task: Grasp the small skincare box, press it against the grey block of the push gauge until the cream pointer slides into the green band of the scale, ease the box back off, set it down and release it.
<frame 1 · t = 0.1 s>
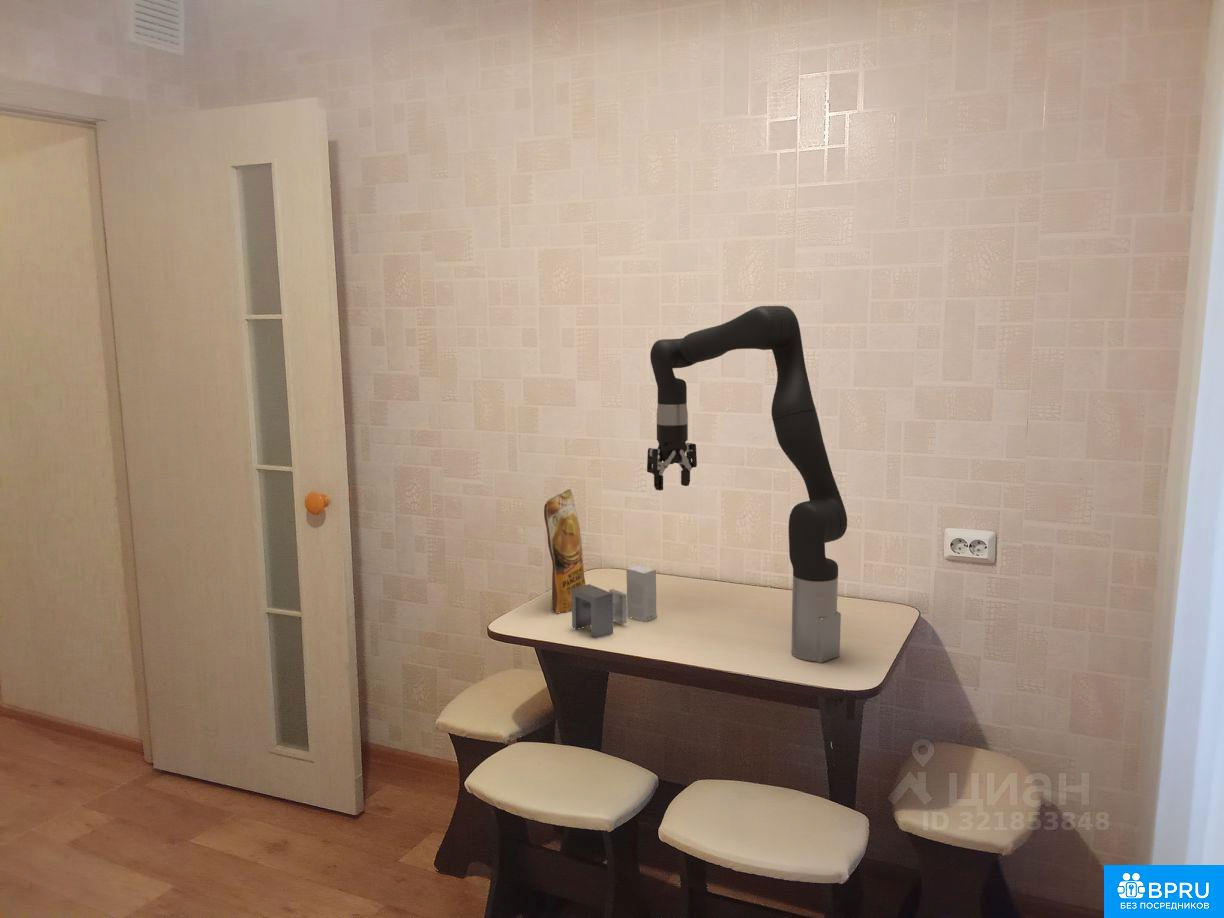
hand: (672, 487, 225), 29 cm above the table, tool pointing down, fingers open, 8 cm apart
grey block: (604, 605, 215), point 4 cm above the table, slide at 0.0 cm
skincare box: (641, 618, 219), on the table
pancake mix bag: (567, 604, 229), on the table
gauge housing: (592, 630, 210), on the table
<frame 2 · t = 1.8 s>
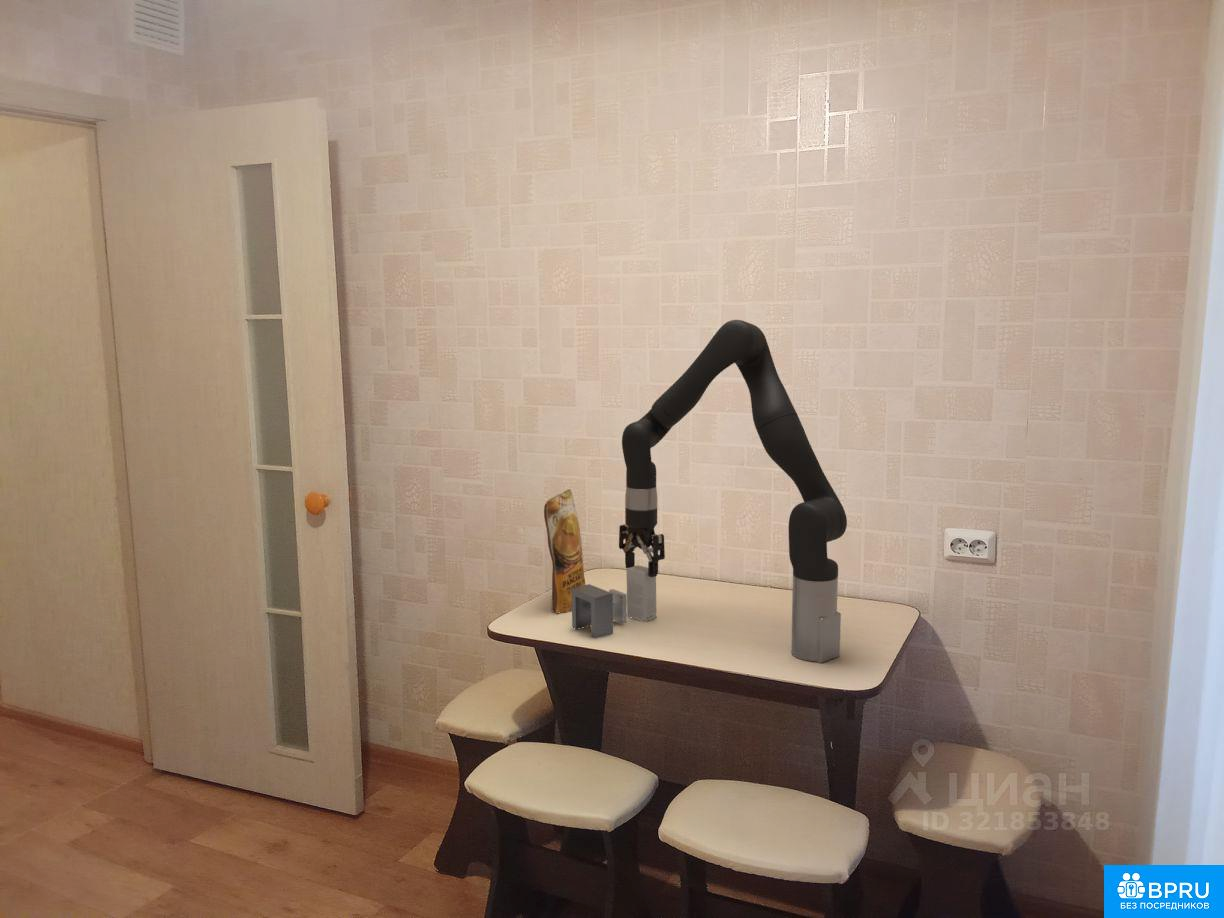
hand: (641, 572, 218), 11 cm above the table, tool pointing down, fingers open, 8 cm apart
nothing on the table moved.
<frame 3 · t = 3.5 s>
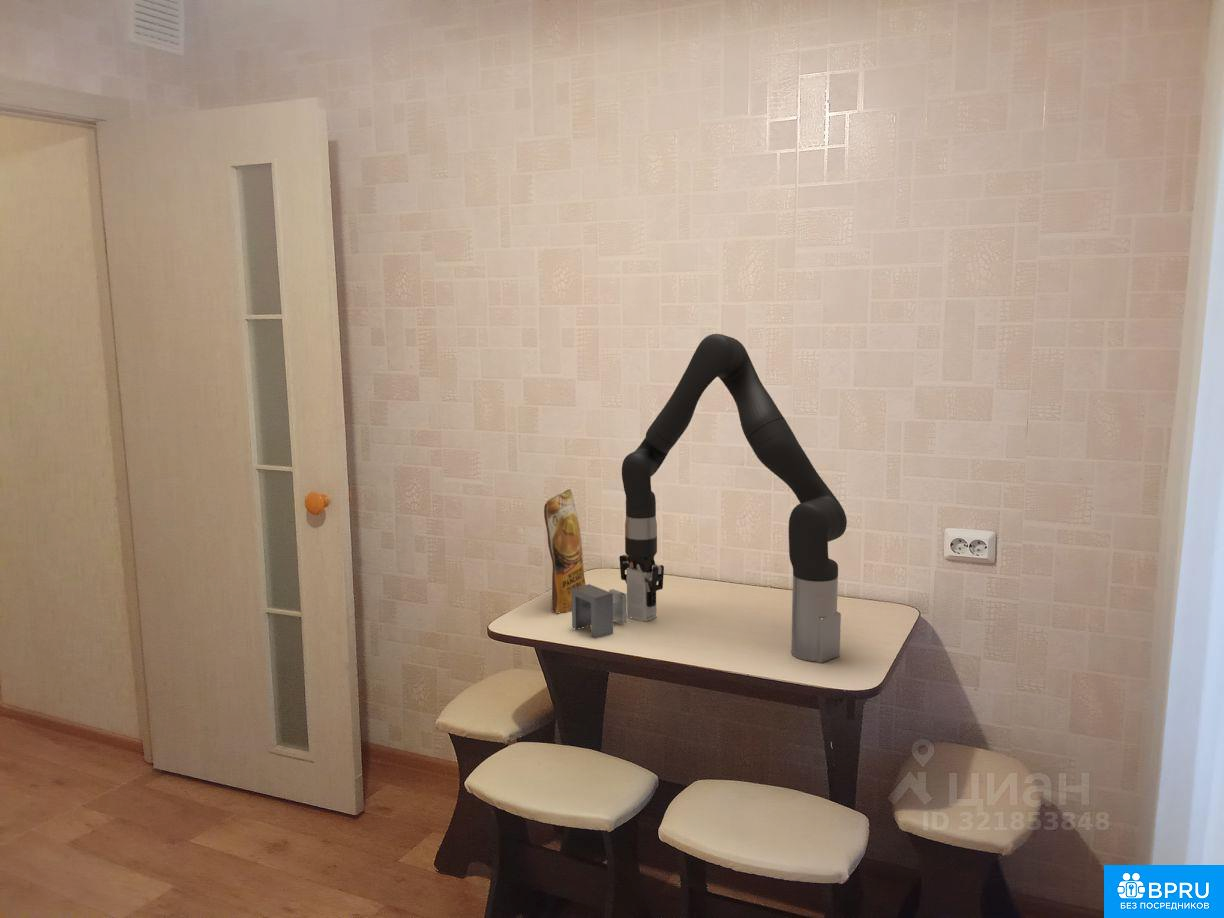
hand: (641, 602, 218), 4 cm above the table, tool pointing down, fingers closed on skincare box, 6 cm apart
skincare box: (641, 618, 219), on the table, touching gripper
everything else where it was.
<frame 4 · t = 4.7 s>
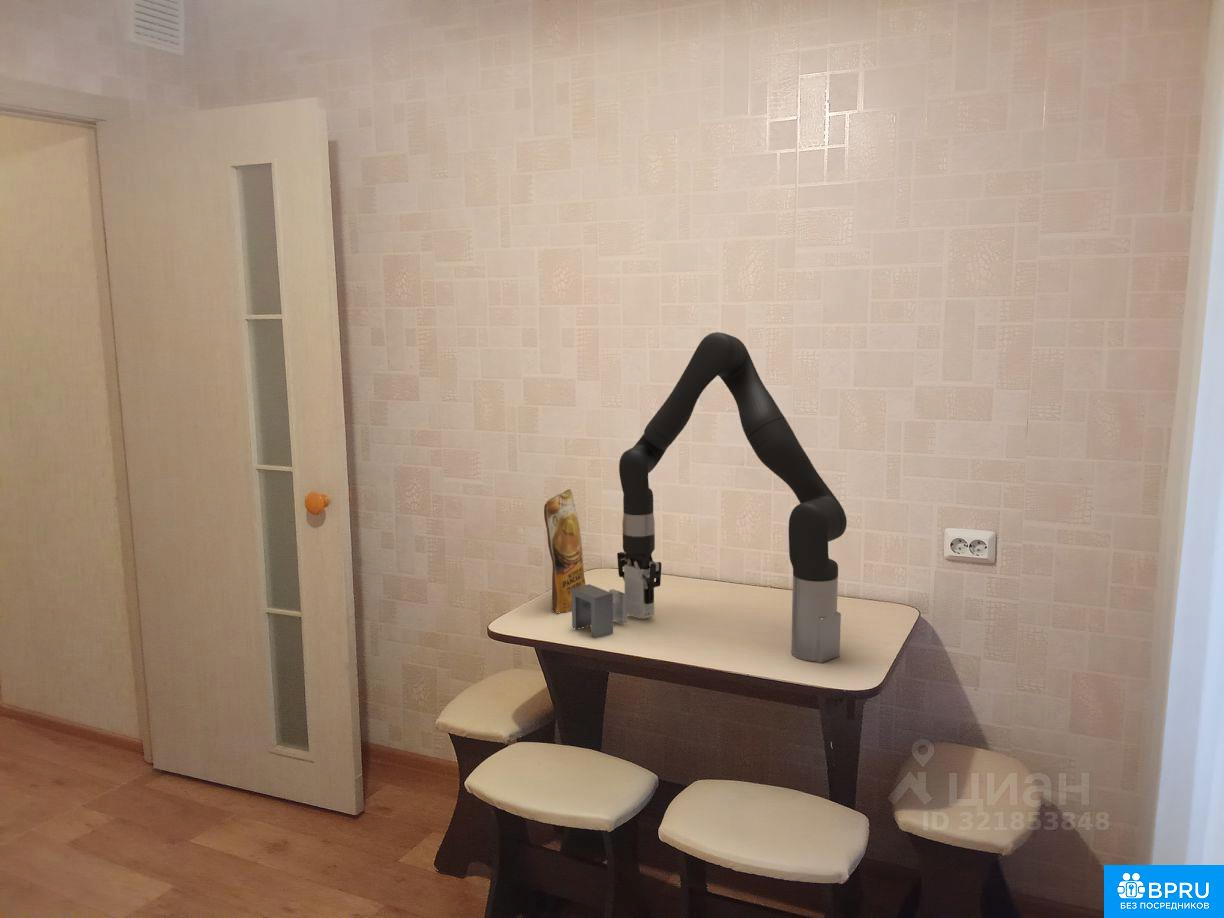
hand: (639, 599, 218), 5 cm above the table, tool pointing down, fingers closed on skincare box, 6 cm apart
skincare box: (639, 615, 219), point 1 cm above the table, touching gripper
everything else where it was.
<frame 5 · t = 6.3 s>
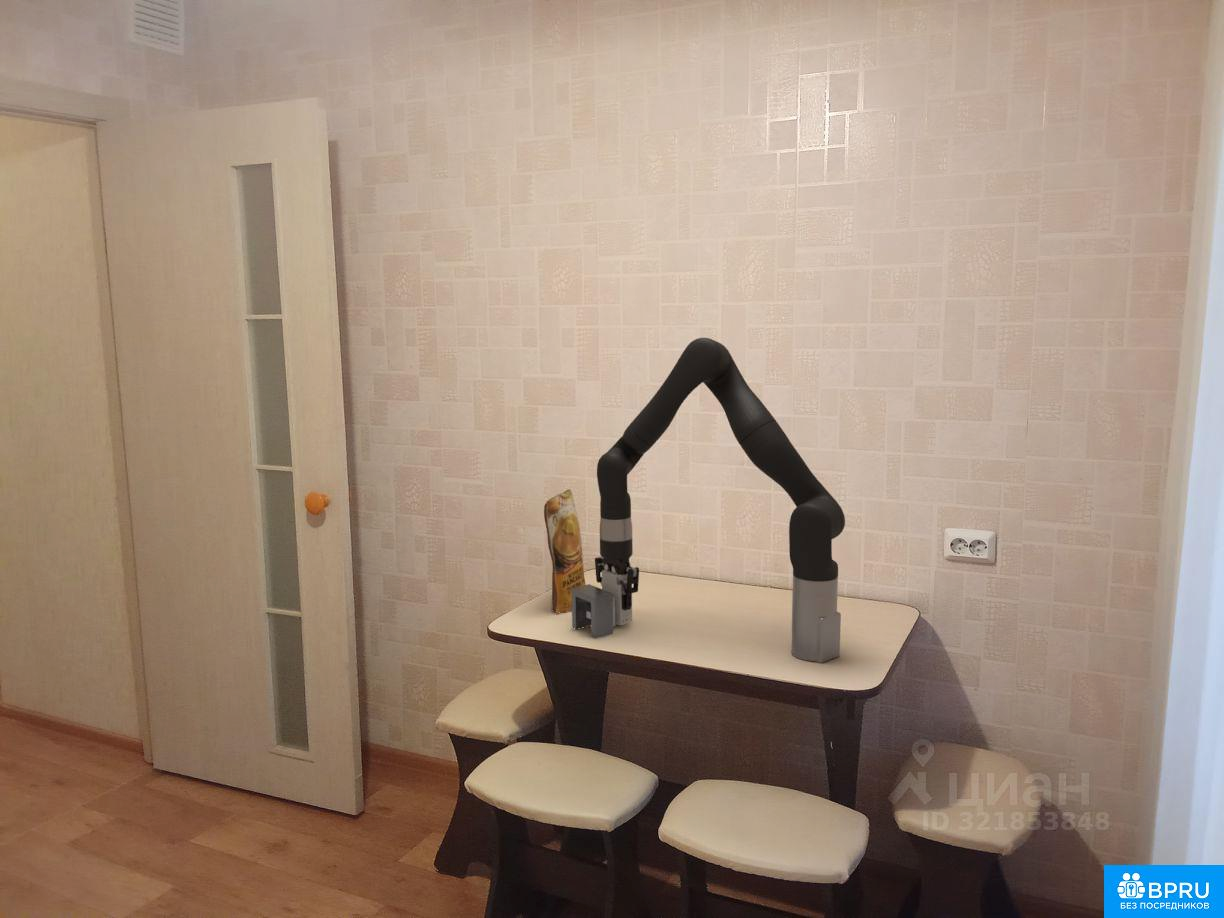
hand: (617, 605, 214), 5 cm above the table, tool pointing down, fingers closed on skincare box, 6 cm apart
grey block: (592, 608, 213), point 4 cm above the table, slide at 3.3 cm
skincare box: (617, 621, 215), point 1 cm above the table, touching gripper
everything else where it was.
when the fingers open (4 cm above the table, at t = 8.4 s): skincare box stays where it is, on the table.
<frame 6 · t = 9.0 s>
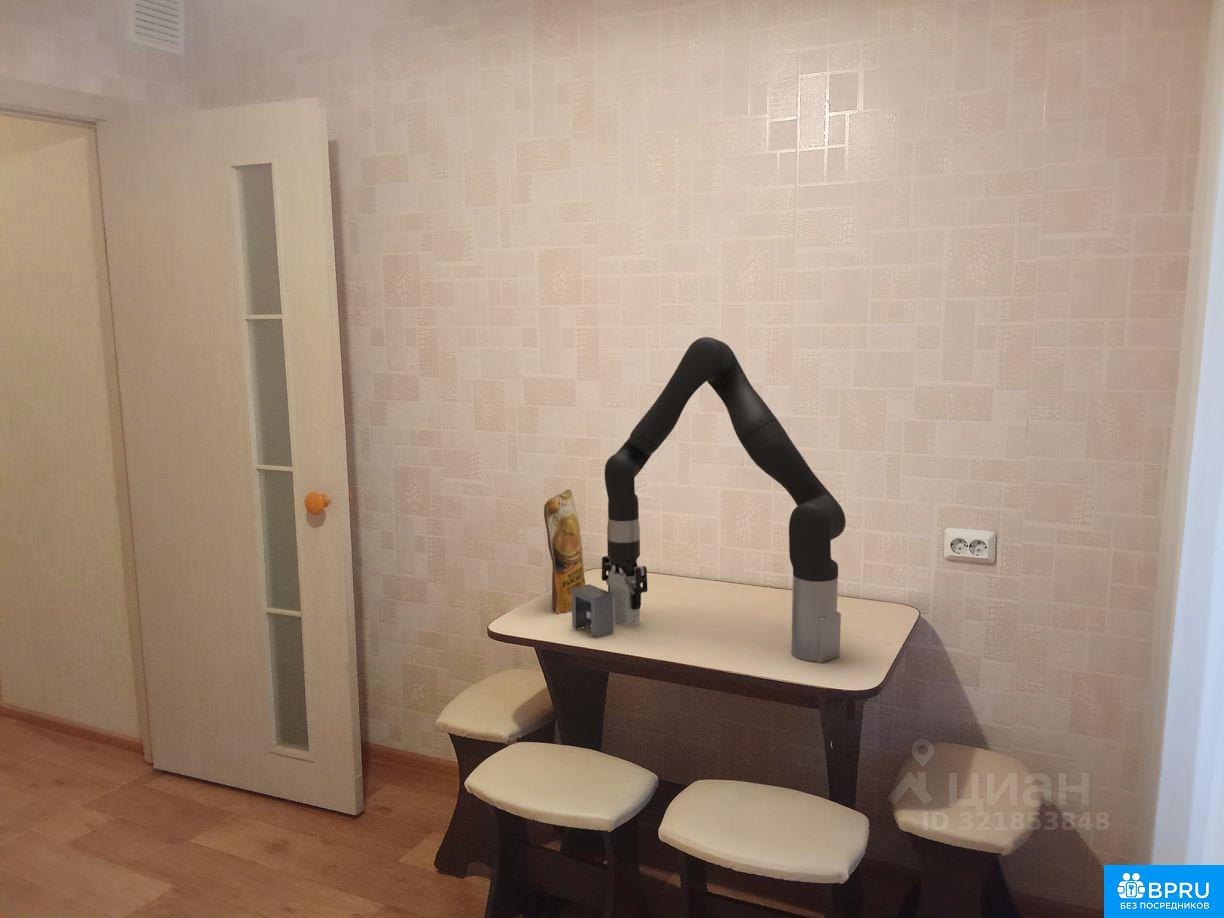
hand: (624, 604, 215), 4 cm above the table, tool pointing down, fingers open, 8 cm apart
skincare box: (624, 622, 216), on the table
everything else where it was.
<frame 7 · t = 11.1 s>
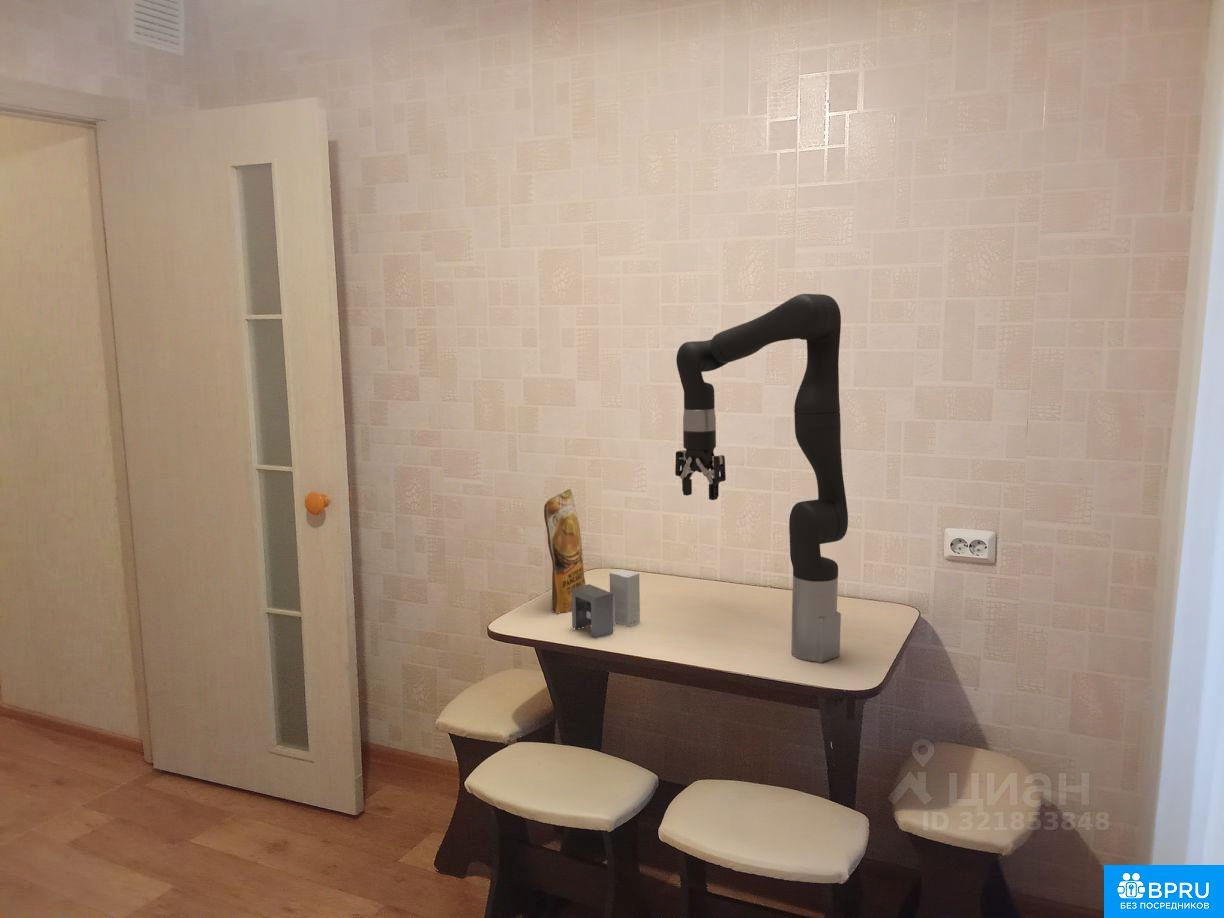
hand: (700, 497, 215), 29 cm above the table, tool pointing down, fingers open, 8 cm apart
nothing on the table moved.
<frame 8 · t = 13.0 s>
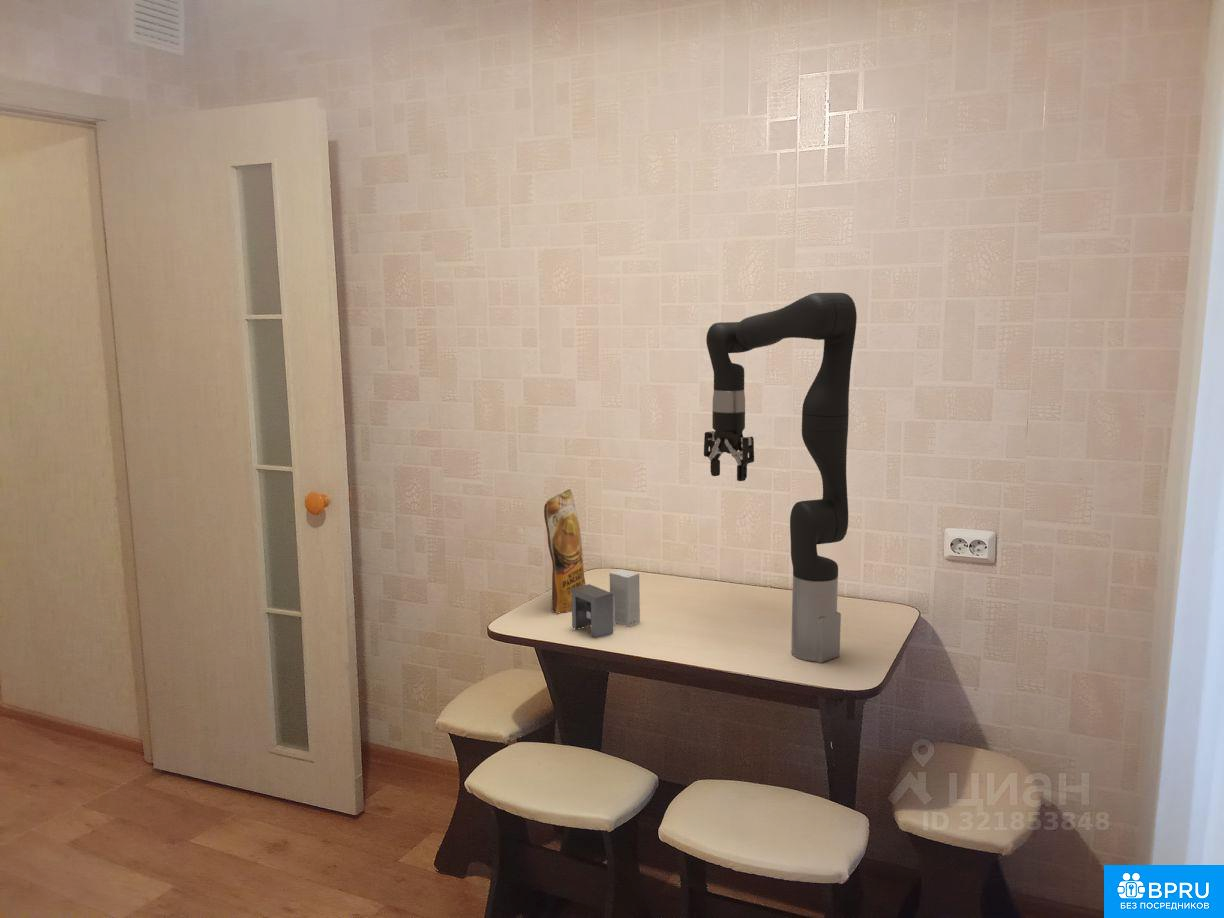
hand: (728, 478, 215), 33 cm above the table, tool pointing down, fingers open, 8 cm apart
nothing on the table moved.
at the end: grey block slide at 3.4 cm; skincare box tilted 0°; the gripper is holding nothing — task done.
